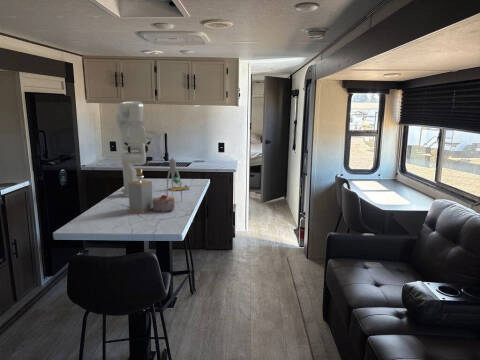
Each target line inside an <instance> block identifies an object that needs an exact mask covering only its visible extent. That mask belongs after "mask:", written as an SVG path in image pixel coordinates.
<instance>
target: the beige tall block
mask: <svg viewBox="0 0 480 360" xmlns="http://www.w3.org/2000/svg"><path fill="white" fill-rule="evenodd" d="M128 190H129V197H128V201H129V202H128V203H129V209H126V210H127V212H128V213H135V214H142V215H143V214H146V213H149V212H151V211H153V184H152V181H151V180H144V179H143V180H142V179H141V183H139V179H137V181H133V182H130V183H128Z"/></svg>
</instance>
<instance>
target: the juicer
mask: <svg viewBox="0 0 480 360" xmlns="http://www.w3.org/2000/svg"><path fill="white" fill-rule="evenodd" d="M176 173H177V176H178V178H179V182H180V183H179V187H180V189H181V190H180V199H181V201H183V191H182V190H183V189H182V187H183V186H182V182H181V181H182V180H181V177H180V173H179V170H178V169H177V163H176V159H175V158H174V157H172V158H171V157H170V159H169V170H168V173H167V179H166V196H167V197H169V194H168V193H169V190H168V189H169V179H170V175H171V181H172V182H171V188H172V190H171V191H172V193H171V194H172V195H174V190H173V187H174V184H173V182H174V181H173V179H174V178H175V176H176Z"/></svg>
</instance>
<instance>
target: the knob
mask: <svg viewBox="0 0 480 360" xmlns="http://www.w3.org/2000/svg"><path fill="white" fill-rule="evenodd" d="M135 169H136V176H135V178H137V179H138V180H139V183H141V180H142V179H144V177H145V176H144V175H143V168H141V167H140V168H135Z"/></svg>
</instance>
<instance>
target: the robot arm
mask: <svg viewBox="0 0 480 360" xmlns="http://www.w3.org/2000/svg"><path fill="white" fill-rule="evenodd" d="M144 109H145V108H144V104H143V102H141V101H140V100H139V101H138V100H126V101H123V102H119V103H118V105H117V113H116V115H115V120H116V123H117V125H118V128H119V131H120V139H121V140H120V141H121V148H122V149H123V150H124V151H127V152H124V153H122V154H121V155H120V162H121V167H122V176H123V188H121V190H120V192H121V193H122V192H123V193H122V197H125V198H129V190H128V183H130V182H133V181H137V180H138V178H135V176H136V169H137V168H135V167H134V166H143V165H145V164H146V163H147V153H148V151H149V145H150V144H151V143H152V140H153V139H152V137H149V136H147V133H146V127H145V126H144V121H143V117H144V113H145V111H144ZM147 140H148V141H147Z"/></svg>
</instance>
